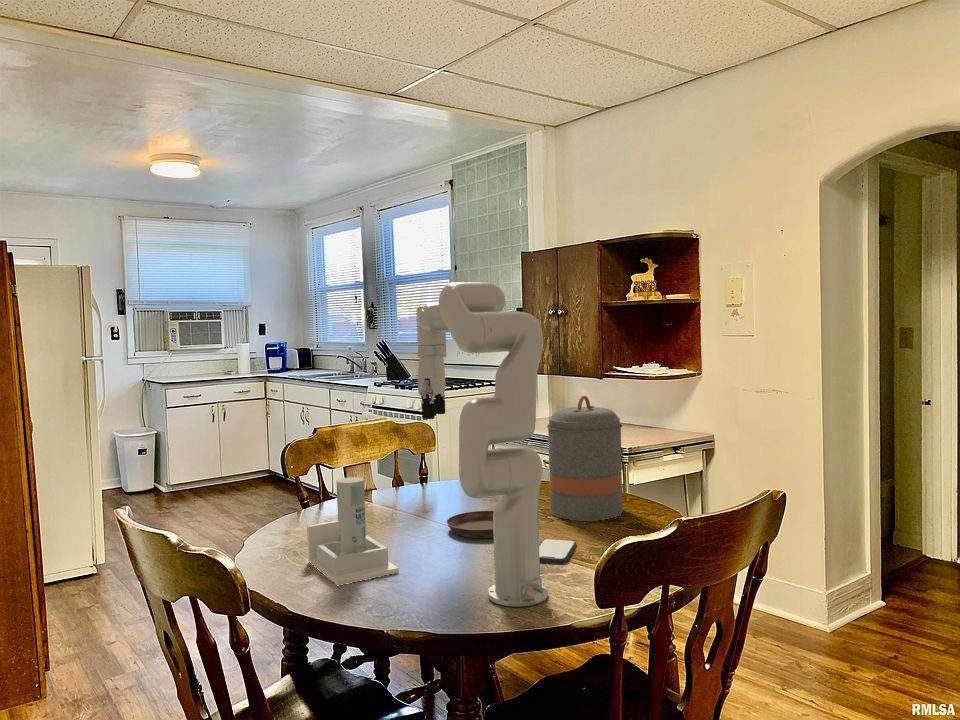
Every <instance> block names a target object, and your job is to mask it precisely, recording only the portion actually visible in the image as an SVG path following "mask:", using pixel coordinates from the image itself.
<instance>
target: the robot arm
mask: <svg viewBox="0 0 960 720" xmlns="http://www.w3.org/2000/svg"><path fill="white" fill-rule="evenodd" d="M439 293H440V294H439V297H438V302H436V303H435V302H433V303H427V304H422V305H418V307H417V308H416V332H417V333H416V334H417V337H416V338H417V358H418V359H419V361H418V371H417V373H418V375H417V377H418V379H417V380H418V381H417V393H418V394H419V396H420V398H421V400H420V401H421V414H422V416H421V418H422V419H423V420H434V419H435V418H436V415H445V414H446V394H445V392H446V372H445V371H446V369H445V359H444V358H446V357H447V334H446V333H450V335H451V336H452V338H453V340H454V341H455V343H456V346H458V348H459V349H460V350H461V351H463V352H464V353H468V354H488V353H503V352H507V353H508V354H507V355H506V356H505V357H504V359H503V360H502V361H501V362H500V365H499V366H498V368H497V370H496V372H495V379H494V380H495V382H494V383H495V388H494V389H495V390H494V395H493V396H492V397H481V398H475V399H471V400H469V401H468V402H466V404H464V406H463V408H462V409H461V413H460V416H459V427H458V474H459V475H458V477H459V483H460V487H461V490H462V492H463V493H464V494H465V495H466V496H467V497H469V498H473V499H480V498H488V497H489V498H490V497H496V496H499V498H498V500H497V501H496V504H495V507H494V510H493V511H494V514H493V531H494V537H493V555H494V557H493V558H494V560H493V561H494V564H493V565H494V584H493V585H492V586H490V587H489V588H488V590H487V598H488V599H489V600H490V601H491V602H492V603H495V604H497V605H501V606H505V607H510V608H511V607H515V608H516V607H517V608H518V607H520V608H521V607H529V606H530V607H531V606H534V605H537V604H541V603H543V602H544V601H546V599H547V598H548V596H549V590H548V588H547V587H546V586H545V585H543V579H542V578H541V571H540V570H541V569H540V568H541V566H540V565H541V563H540V558H539V545H540V536H539V535H540V525H539V524H540V520H539V519H540V518H539V505H540V504H539V503H540V501H539V500H540V490H541V483H542V479H543V477H542V476H543V462H542V459H541V457H540V455H539V453H538V452H537V451H535V450H534V449H533V448H531V447H527V446H521V445H520V446H519V445H518V446H505V447H498V448H490V449H489V446H490V445H497V444H498V445H499V444H500V445H501V444H506V443H508V444H509V443H515V442H516V443H517V442H521V441H526V440H528V439H530V438H531V437H533V435H534V433H535V429H536V422H537V421H536V420H537V418H536V417H537V387H538V385H537V377H538V371H539V366H540V362H541V359H542V354H543V347H544V346H543V345H544V335H543V330H542V326H541V324H540V322H539V320H538V319H537V318H536V316H535V315H532V314H530V313H528V312H523V311H514V310H512V311H510V310H509V311H508V310H504V308H505V306H506V296H505V293H504V291H503V290H502V289H501V288H500V287H499V286H498V285H496V284H494V283H491V282H484V281H482V282H480V281H478V282H477V281H474V282H473V281H470V282H469V281H468V282H467V281H466V282H464V281H463V282H459V281H458V282H457V281H456V282H455V281H454V282H450V283H447V284H446V285H445V286H444V287H443V288H442V289H441V291H440V292H439Z"/></svg>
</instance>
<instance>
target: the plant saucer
mask: <svg viewBox="0 0 960 720" xmlns="http://www.w3.org/2000/svg"><path fill="white" fill-rule="evenodd" d="M493 514H494V510H477V511H469V512H463V513H459V514H455V515H453V516H450V517H449V518H447V519H446V524H447V526H448V527H449V529H451V531H452V532H454V533H455V534H456V535H458V536H460V537H464V538H470V539H491V538H493V539H494V531H493Z"/></svg>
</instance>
